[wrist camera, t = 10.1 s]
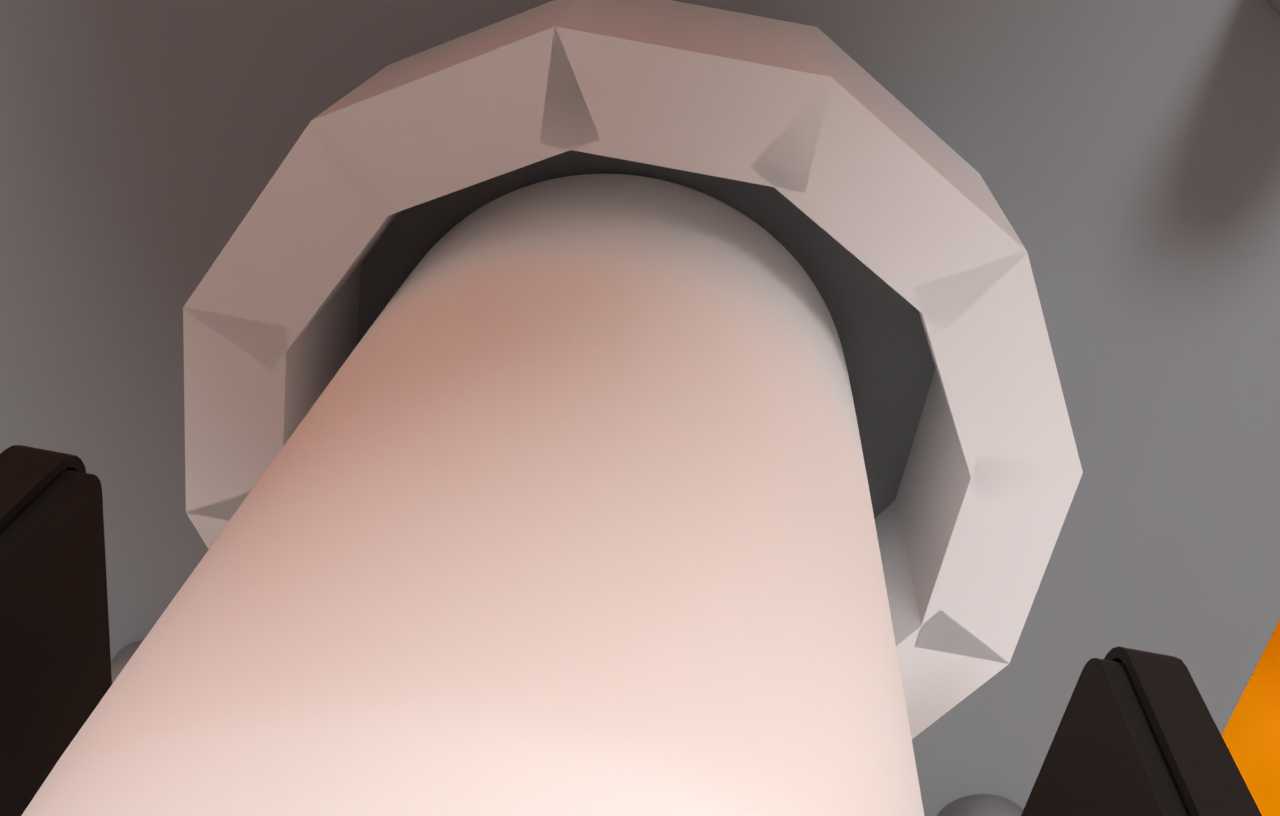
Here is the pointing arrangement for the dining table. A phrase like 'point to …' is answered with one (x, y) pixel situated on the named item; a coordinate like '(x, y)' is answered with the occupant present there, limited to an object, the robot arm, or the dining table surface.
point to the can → (541, 553)
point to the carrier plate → (767, 194)
